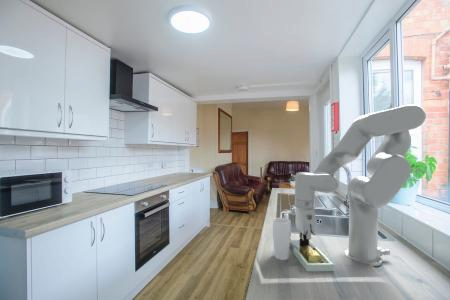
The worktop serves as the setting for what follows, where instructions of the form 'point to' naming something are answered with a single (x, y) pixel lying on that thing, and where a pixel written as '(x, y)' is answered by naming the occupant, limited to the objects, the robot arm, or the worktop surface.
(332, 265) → the tray
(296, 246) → the slot board
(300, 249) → the gold cube
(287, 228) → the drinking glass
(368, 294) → the worktop surface
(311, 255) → the tan cube
